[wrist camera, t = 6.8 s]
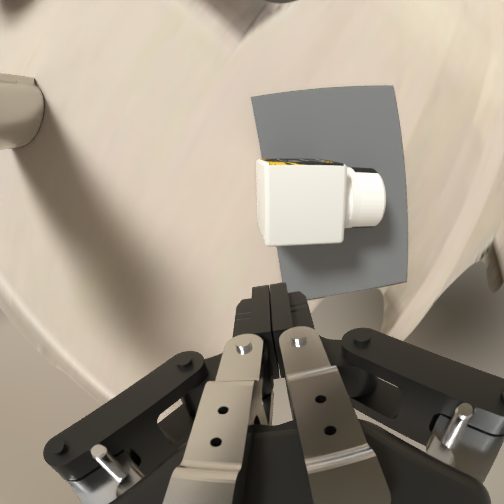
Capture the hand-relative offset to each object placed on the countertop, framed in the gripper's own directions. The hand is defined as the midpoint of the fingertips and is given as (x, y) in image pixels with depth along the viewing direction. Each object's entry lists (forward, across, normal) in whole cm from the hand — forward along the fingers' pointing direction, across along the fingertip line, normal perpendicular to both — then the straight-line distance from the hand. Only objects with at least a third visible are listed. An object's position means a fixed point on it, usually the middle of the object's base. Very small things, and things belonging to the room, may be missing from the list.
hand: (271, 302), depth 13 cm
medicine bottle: (+16, 0, -2) cm, 16 cm away
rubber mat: (+21, -9, 0) cm, 22 cm away
